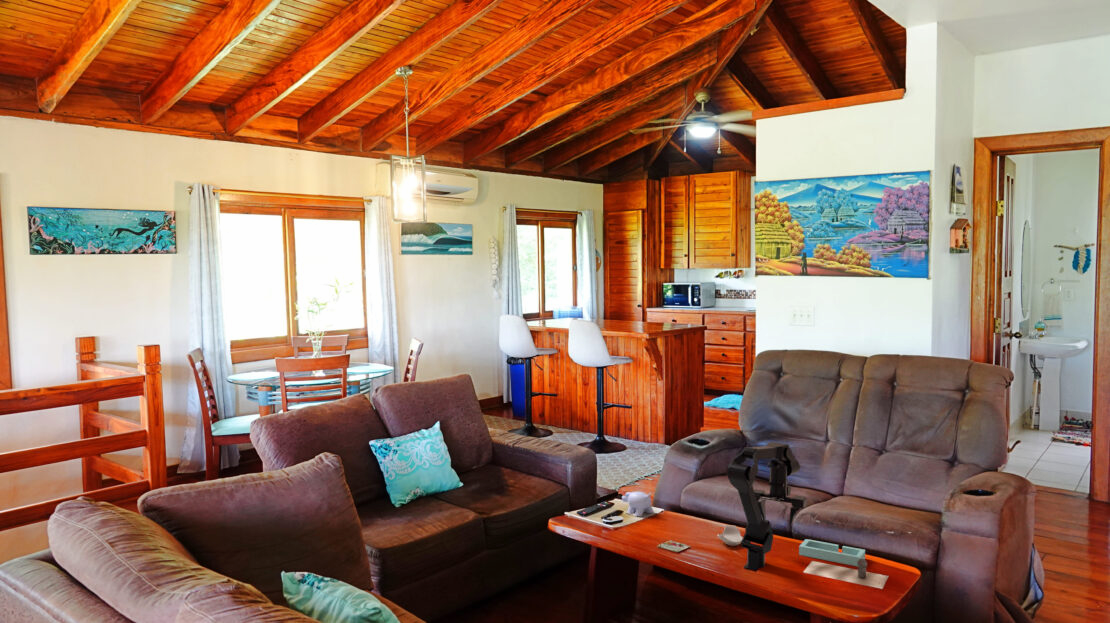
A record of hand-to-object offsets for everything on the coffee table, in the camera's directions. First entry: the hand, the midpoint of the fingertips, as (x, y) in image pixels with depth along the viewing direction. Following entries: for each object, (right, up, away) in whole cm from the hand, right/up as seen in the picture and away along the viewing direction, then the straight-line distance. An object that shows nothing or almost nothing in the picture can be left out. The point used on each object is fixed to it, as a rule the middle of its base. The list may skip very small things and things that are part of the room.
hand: (777, 522), depth 257 cm
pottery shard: (-13, -12, +14) cm, 22 cm away
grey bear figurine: (-43, -10, +51) cm, 68 cm away
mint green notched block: (+18, -12, -2) cm, 22 cm away
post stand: (+17, -13, -18) cm, 27 cm away
